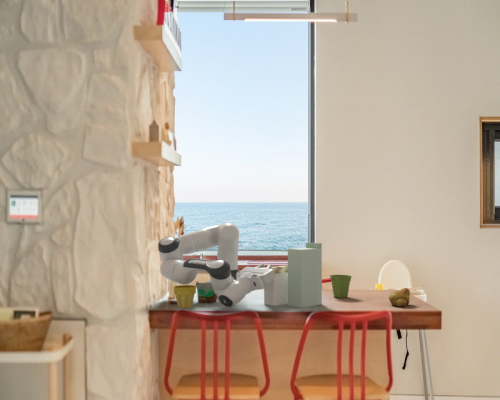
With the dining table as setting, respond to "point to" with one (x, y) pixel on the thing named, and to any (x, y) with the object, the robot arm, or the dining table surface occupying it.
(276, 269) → the rail
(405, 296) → the bread roll
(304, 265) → the pale green block
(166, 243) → the robot arm
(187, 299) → the plant pot
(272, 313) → the dining table surface
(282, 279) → the block
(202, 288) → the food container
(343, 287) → the plant pot
